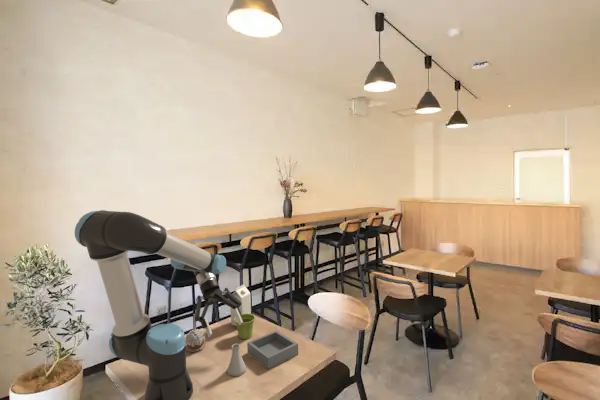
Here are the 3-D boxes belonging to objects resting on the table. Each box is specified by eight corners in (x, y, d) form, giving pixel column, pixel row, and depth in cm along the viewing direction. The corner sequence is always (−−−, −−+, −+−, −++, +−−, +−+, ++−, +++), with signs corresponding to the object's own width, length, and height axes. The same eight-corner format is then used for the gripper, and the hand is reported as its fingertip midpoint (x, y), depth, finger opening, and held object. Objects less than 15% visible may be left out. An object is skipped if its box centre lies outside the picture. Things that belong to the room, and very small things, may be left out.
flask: (242, 377, 118) (241, 352, 117) (223, 375, 120) (222, 350, 119) (248, 366, 125) (248, 341, 124) (231, 364, 127) (230, 339, 126)
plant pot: (233, 332, 151) (233, 315, 150) (253, 329, 154) (253, 312, 153) (236, 343, 142) (235, 324, 141) (257, 339, 145) (256, 320, 144)
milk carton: (231, 324, 159) (229, 287, 157) (240, 318, 165) (238, 282, 163) (242, 328, 155) (241, 289, 154) (251, 321, 162) (250, 285, 160)
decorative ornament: (209, 345, 140) (207, 312, 139) (195, 354, 134) (193, 320, 132) (196, 341, 144) (194, 309, 143) (182, 349, 137) (180, 316, 136)
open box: (268, 369, 123) (268, 358, 123) (247, 352, 134) (247, 342, 134) (298, 354, 133) (298, 343, 132) (276, 340, 144) (276, 330, 144)
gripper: (230, 280, 149) (249, 322, 139) (176, 294, 132) (193, 344, 123) (236, 271, 144) (256, 315, 135) (181, 285, 128) (199, 336, 118)
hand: (226, 329), depth 129 cm, fingers open, 13 cm apart
